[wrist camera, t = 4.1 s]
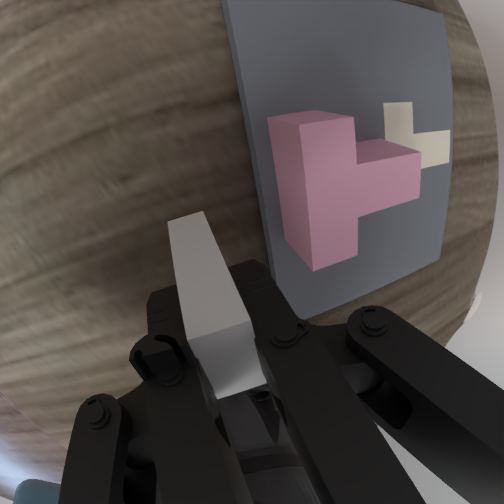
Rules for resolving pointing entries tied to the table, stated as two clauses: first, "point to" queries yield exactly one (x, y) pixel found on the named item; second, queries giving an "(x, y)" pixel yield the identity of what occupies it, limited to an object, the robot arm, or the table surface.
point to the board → (365, 121)
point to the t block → (335, 182)
